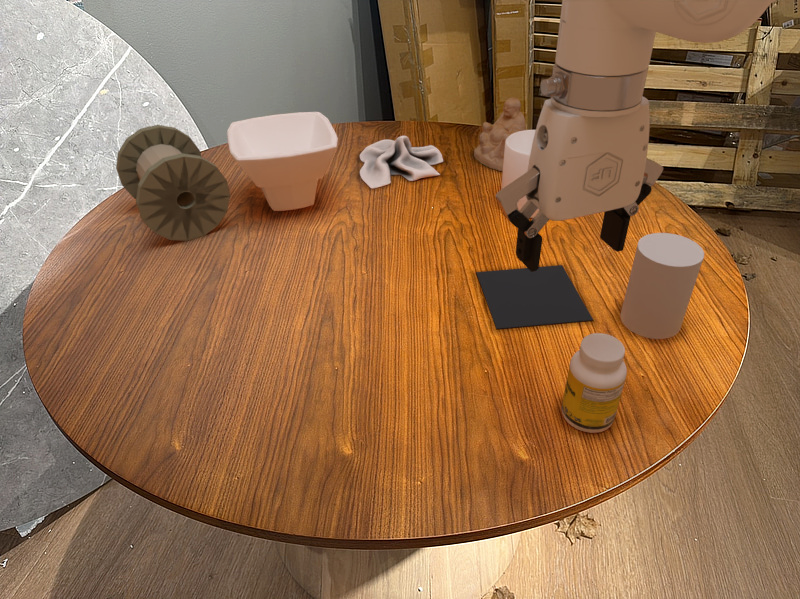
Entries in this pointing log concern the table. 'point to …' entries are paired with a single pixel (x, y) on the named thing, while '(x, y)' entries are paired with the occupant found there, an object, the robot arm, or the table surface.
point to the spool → (172, 183)
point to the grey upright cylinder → (661, 284)
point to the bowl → (284, 155)
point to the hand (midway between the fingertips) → (569, 254)
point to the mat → (532, 297)
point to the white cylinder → (517, 160)
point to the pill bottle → (594, 383)
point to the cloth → (397, 161)
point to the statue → (499, 135)
